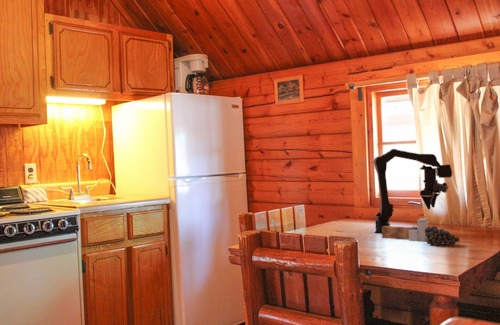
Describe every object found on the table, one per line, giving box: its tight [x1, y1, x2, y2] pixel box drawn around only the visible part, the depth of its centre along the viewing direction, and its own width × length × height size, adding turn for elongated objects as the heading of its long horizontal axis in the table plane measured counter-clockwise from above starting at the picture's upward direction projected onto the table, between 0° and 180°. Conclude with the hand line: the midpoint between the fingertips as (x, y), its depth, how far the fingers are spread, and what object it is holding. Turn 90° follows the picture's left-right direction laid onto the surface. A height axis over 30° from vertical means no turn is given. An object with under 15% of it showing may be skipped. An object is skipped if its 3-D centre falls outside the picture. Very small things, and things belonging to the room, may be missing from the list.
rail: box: [381, 225, 417, 241], centre depth 242 cm, size 16×4×6 cm, turn 57°
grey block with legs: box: [408, 217, 429, 242], centre depth 237 cm, size 7×8×10 cm
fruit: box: [425, 225, 460, 247], centre depth 222 cm, size 9×8×15 cm
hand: (431, 208), depth 258 cm, fingers open, 9 cm apart
